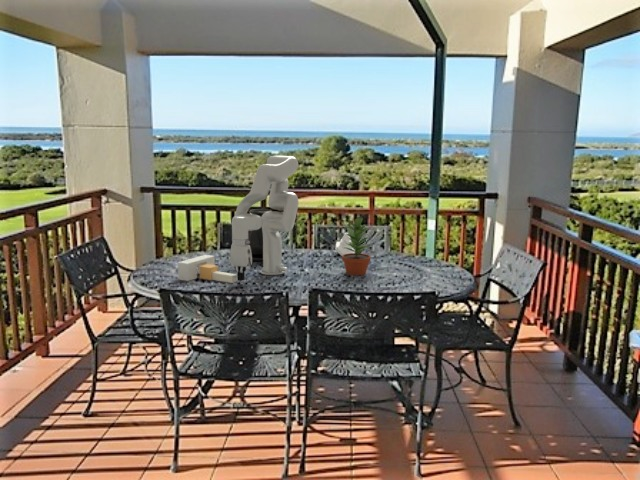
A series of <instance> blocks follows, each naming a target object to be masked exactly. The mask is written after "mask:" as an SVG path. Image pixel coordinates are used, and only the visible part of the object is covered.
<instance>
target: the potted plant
mask: <svg viewBox="0 0 640 480" xmlns="http://www.w3.org/2000/svg"><path fill="white" fill-rule="evenodd" d="M346 220H347V221H348V222H349V223H350V224H346V229H347V231H348V234H347V235H348V236H350V238H351V239H350V238H349V239H350V240H351V242H350V243H349V244H347V243H345V244H347V245H349V246H351V247H352V248H353V249H354V250H355V251H354V250H352V249H350V248H347V247H343V248H346V249H348V250H351V251H354V252H355V253H350V254H344V255H343V256H342V261H343V263H344V269H345V272H346V274H347V275H349V276H363V275H364V276H365V275H366V274H367V272H368V271H367V270H368V267H369V264H370V262H371V255H369V254H367V253H363V252H364V249H365V248H368V247H369V245H364V244H365V243H364V242H365V241H366V240H368V239H369V236H368V237H364V238H363V239H362V237H363V236H364V235H365V234H366V233H365V232H366V231H367V230H369V228H371V227H367V226H368V225H369V224H364V225H362V222H363V217H358V218H355V220H354V222H353V221H352V220H350V219H347V218H346ZM362 243H364V244H362Z"/></svg>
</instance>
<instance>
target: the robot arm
mask: <svg viewBox="0 0 640 480" xmlns="http://www.w3.org/2000/svg"><path fill="white" fill-rule="evenodd" d="M298 167H299V162H298V159H297V158H296V157H295V156H292V155H270V156H269V157H268V158H267V160H266V163H263V164H260V165H259V166H258V167H257V170H256V174H255V176H254V179H253V183H252V186H251V189H250V191H249V193H247V194H246V196H244V197H243V198H242V200H241V201H240V202H239V203H238V205H237V206H236V210H235V214H234V216H233V217H232V219H231V241H232V244H231V247H230V253H229V262H230V266H231V268H234V269H235V271H236V274H237V282H238V281H240V282H242V281H244V280H245V276H246V275H245V272H247V270H251V266H252V265H253V261H252V253H251V248H250V245H248V244H250V241H248V231H249V230H258V229H260V228H261V227H262V232H263V261H262V268H261V269H260V270H259V271H260V272H259V273H260V274H261V275H266V276H279V275H282V274H285V273H286V272H287V271H288V266H284V263H283V262H282V261H283V259H282V258H283V256H282V254H283V253H282V252H283V251H282V249H283V248H282V245H283V244H282V242H283V241H282V234H281V233H280V232H282V233H289V232H291V231H292V230H293V228H294V226H295V223H296V222H295V221H296V219H297V218H296V217H297V213H298V209H299V198H298V196H297V194H296V193H294V192H292V191H288V189H289V179H288V178H289V177H291V176H292V175H294V174H295V173H296V172H297V170H298ZM266 199H268V201H267V205H268V207H269V208H270V209H271V210H272V211H270V212H265V213H264V214H263V215H262V217H260V216H258V215H254V214H251V213H248V212H249V209H250V208H251V207H252V206H254V205H255V204H256V203H259V202H262V201H263V200H266ZM273 210H277V211H273ZM280 211H283V212H280Z"/></svg>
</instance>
